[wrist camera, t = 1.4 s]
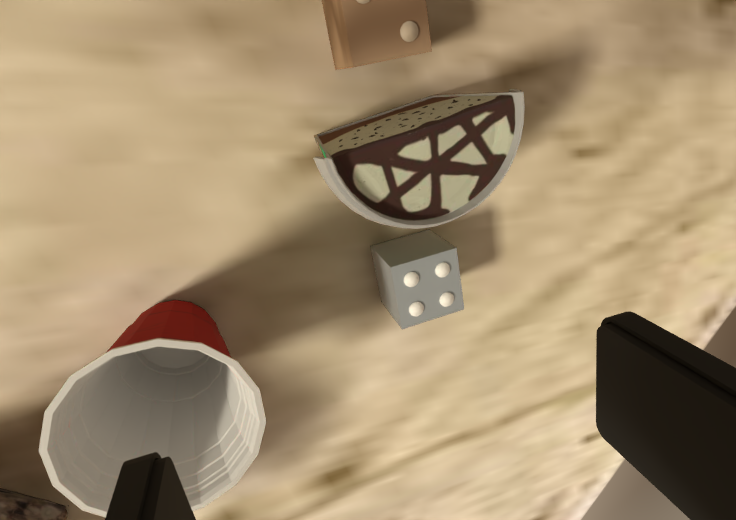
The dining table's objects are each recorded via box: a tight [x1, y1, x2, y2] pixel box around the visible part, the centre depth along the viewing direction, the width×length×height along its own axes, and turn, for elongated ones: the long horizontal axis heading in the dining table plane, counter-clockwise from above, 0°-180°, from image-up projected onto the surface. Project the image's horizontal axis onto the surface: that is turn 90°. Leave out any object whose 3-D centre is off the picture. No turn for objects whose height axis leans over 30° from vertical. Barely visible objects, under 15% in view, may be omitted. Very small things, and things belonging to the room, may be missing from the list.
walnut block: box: [322, 0, 432, 70], centre depth 30 cm, size 5×5×5 cm
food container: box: [314, 89, 525, 229], centre depth 31 cm, size 12×6×10 cm, turn 106°
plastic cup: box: [39, 300, 266, 518], centre depth 30 cm, size 11×11×12 cm
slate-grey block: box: [370, 230, 464, 329], centre depth 37 cm, size 5×5×5 cm
